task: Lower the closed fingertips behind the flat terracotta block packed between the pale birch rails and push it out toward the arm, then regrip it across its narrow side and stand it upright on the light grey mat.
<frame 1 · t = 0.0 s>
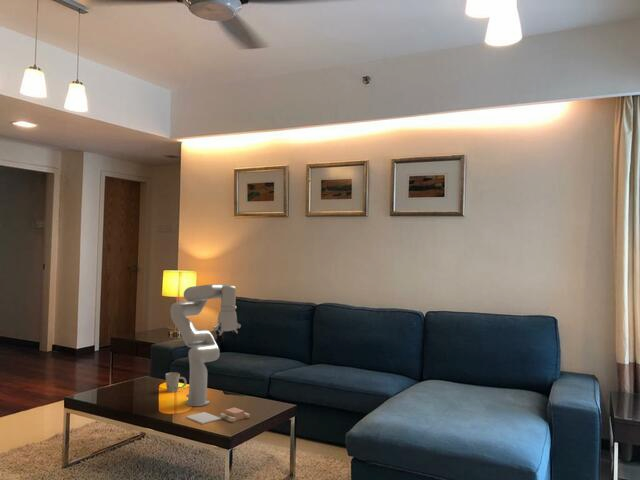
hand: (226, 341, 268), 37 cm above the table, fingers open, 9 cm apart
mug: (175, 391, 308), on the table
mat: (203, 418, 257), on the table
block: (234, 418, 260), on the table
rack: (235, 418, 259), on the table
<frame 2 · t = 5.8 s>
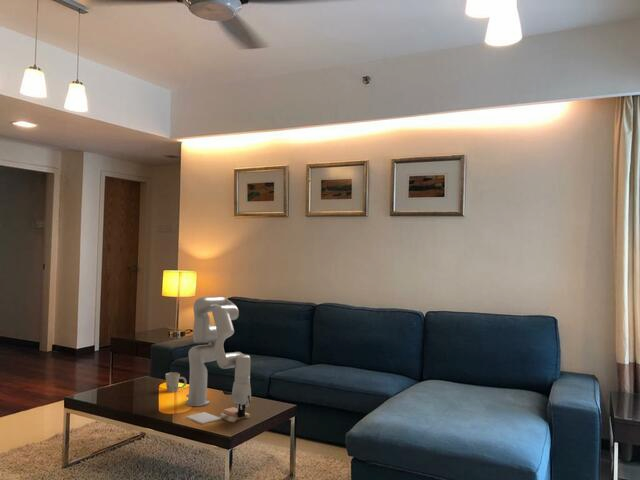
hand: (241, 417, 256), 2 cm above the table, fingers closed
nothing on the table moved.
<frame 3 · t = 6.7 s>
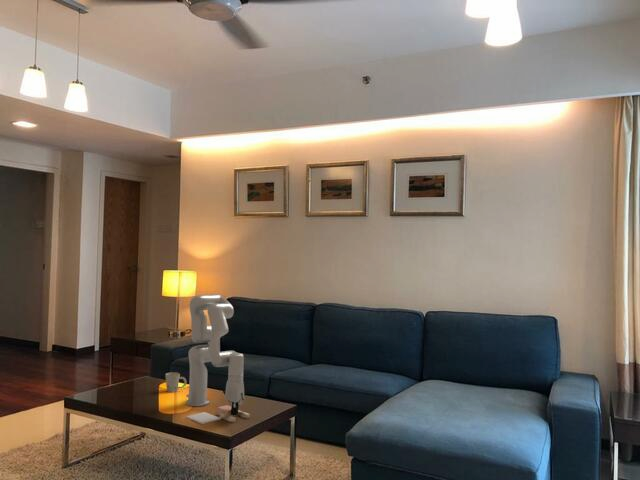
hand: (234, 414, 260), 2 cm above the table, fingers closed
block: (226, 415, 263), on the table, touching gripper
everything else where it was.
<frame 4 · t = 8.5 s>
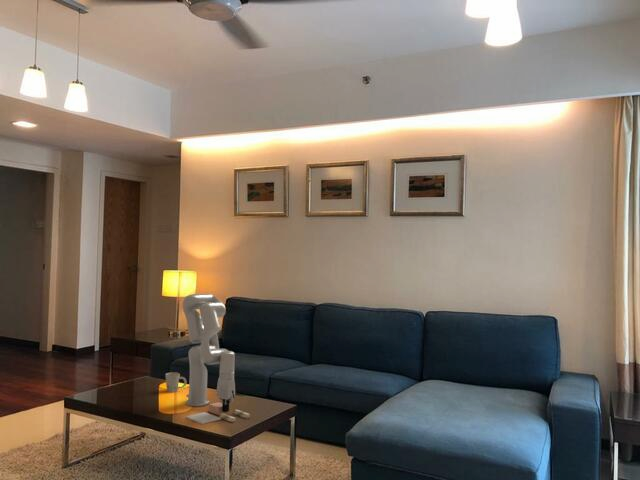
hand: (225, 411, 265), 2 cm above the table, fingers closed
block: (218, 412, 268), on the table
everything else where it was.
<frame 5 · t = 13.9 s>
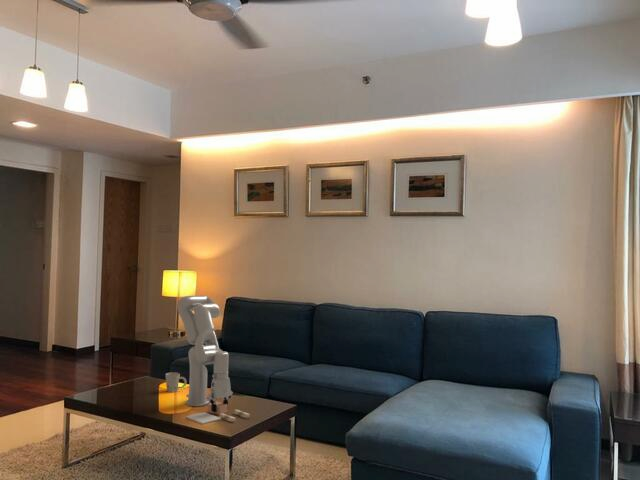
hand: (219, 409, 268), 1 cm above the table, fingers closed on block, 6 cm apart
block: (217, 412, 268), on the table, touching gripper
everything else where it was.
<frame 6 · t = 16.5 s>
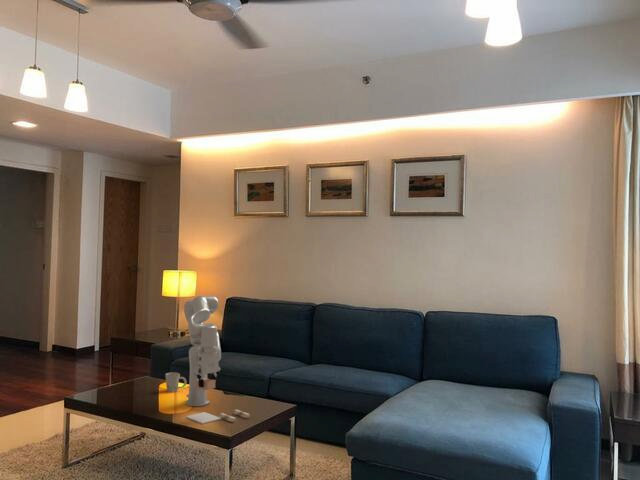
hand: (207, 385, 258), 16 cm above the table, fingers closed on block, 6 cm apart
block: (205, 388, 259), point 15 cm above the table, touching gripper
everything else where it was.
when the fingers open (3 cm above the table, at t = 19.5 s): block drops 1 cm, resting on mat.
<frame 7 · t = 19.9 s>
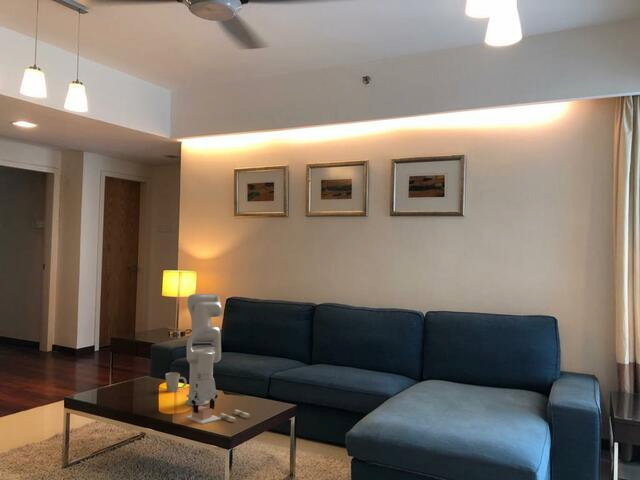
hand: (203, 410, 257), 4 cm above the table, fingers open, 9 cm apart
block: (201, 416, 258), point 1 cm above the table, touching mat
everything else where it was.
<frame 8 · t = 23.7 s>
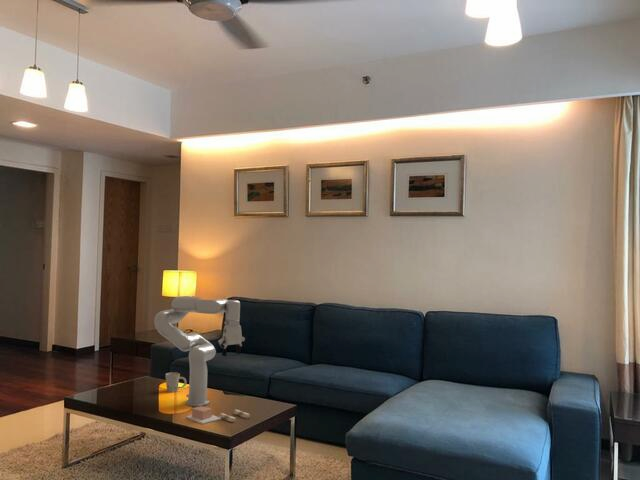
hand: (231, 354, 278), 28 cm above the table, fingers open, 9 cm apart
nothing on the table moved.
at the end: block inside the target area on the mat (1.2 cm from its centre), point 0.6 cm above the mat's base; block tilted 0°; the gripper is holding nothing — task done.
